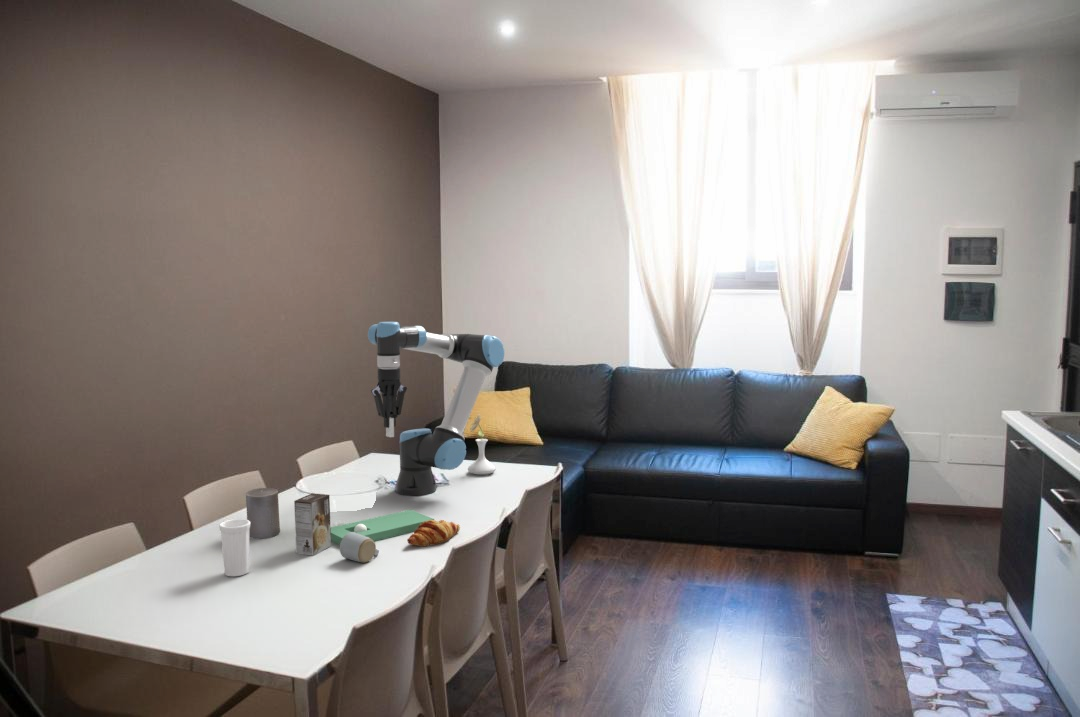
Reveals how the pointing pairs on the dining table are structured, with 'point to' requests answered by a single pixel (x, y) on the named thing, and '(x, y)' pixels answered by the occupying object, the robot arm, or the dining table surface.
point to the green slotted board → (382, 526)
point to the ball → (360, 528)
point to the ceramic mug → (358, 547)
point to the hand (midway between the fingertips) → (390, 436)
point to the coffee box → (312, 524)
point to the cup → (235, 546)
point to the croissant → (433, 533)
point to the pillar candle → (263, 512)
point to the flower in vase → (480, 453)
